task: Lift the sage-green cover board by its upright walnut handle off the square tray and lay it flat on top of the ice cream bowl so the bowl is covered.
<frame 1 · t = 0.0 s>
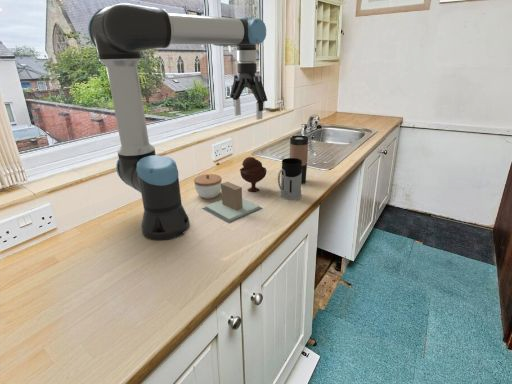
hand: (248, 117, 132), 28 cm above the worktop, tool pointing down, fingers open, 13 cm apart
cover board: (232, 208, 115), point 1 cm above the worktop, touching square tray
ice cream bowl: (253, 191, 131), on the worktop
glass holder: (287, 199, 123), on the worktop
lidded jar: (209, 196, 127), on the worktop
travel mug: (297, 182, 140), on the worktop
square tray: (232, 209, 116), on the worktop
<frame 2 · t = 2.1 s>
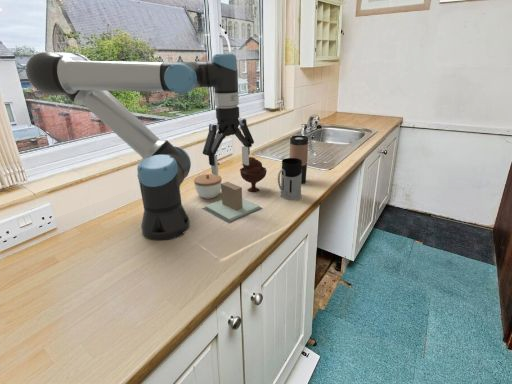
hand: (231, 169, 109), 16 cm above the worktop, tool pointing down, fingers open, 13 cm apart
nothing on the worktop moved.
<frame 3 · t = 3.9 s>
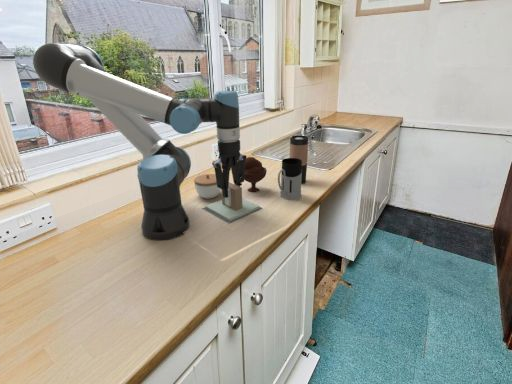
hand: (232, 203, 114), 3 cm above the worktop, tool pointing down, fingers closed on cover board, 3 cm apart
cover board: (232, 208, 115), point 1 cm above the worktop, touching gripper, square tray
everything else where it was.
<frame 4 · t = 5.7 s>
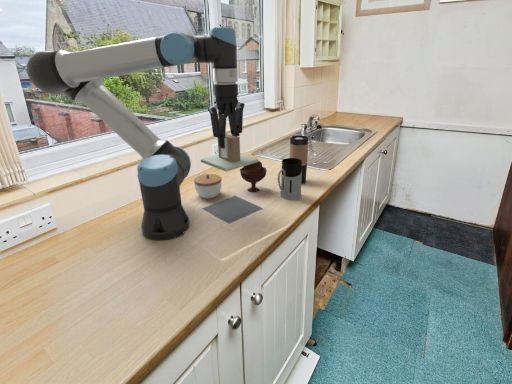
hand: (229, 155, 107), 21 cm above the worktop, tool pointing down, fingers closed on cover board, 3 cm apart
cover board: (229, 161, 108), point 18 cm above the worktop, touching gripper
everything else where it was.
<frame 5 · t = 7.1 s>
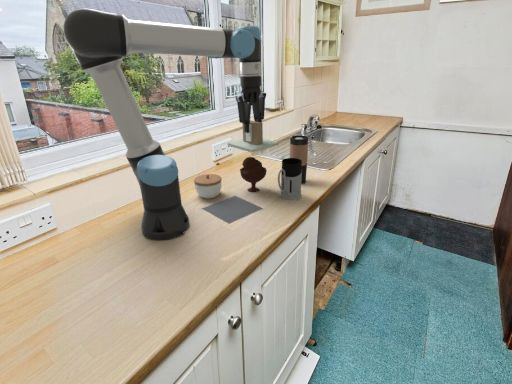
hand: (252, 139, 122), 22 cm above the worktop, tool pointing down, fingers closed on cover board, 3 cm apart
cover board: (252, 145, 122), point 20 cm above the worktop, touching gripper
everything else where it was.
when the fingers open (19 cm above the worktop, at t = 7.9 s): cover board drops 2 cm, resting on ice cream bowl.
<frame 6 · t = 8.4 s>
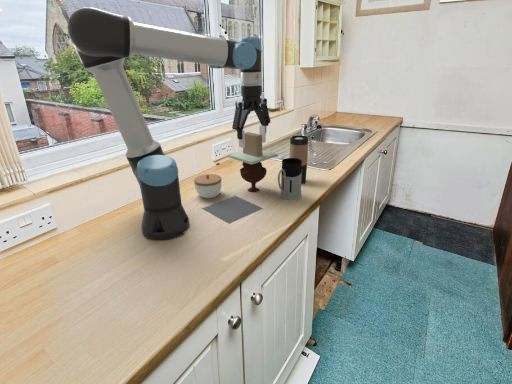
hand: (252, 144, 123), 20 cm above the worktop, tool pointing down, fingers open, 10 cm apart
cover board: (252, 156, 125), point 15 cm above the worktop, touching ice cream bowl
ice cream bowl: (253, 191, 131), on the worktop, touching cover board
everything else where it was.
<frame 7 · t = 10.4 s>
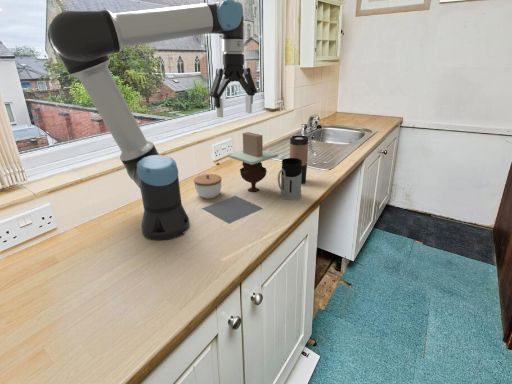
hand: (234, 114, 119), 31 cm above the worktop, tool pointing down, fingers open, 13 cm apart
nothing on the worktop moved.
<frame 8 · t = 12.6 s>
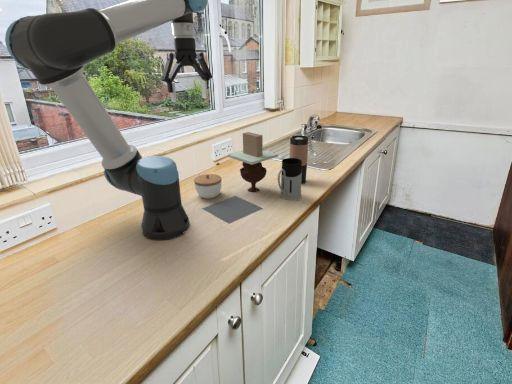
hand: (190, 100, 119), 37 cm above the worktop, tool pointing down, fingers open, 13 cm apart
nothing on the worktop moved.
at the end: cover board 0.1 cm from the ice cream bowl (horizontally); cover board point 15.0 cm above the worktop; cover board tilted 0° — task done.
